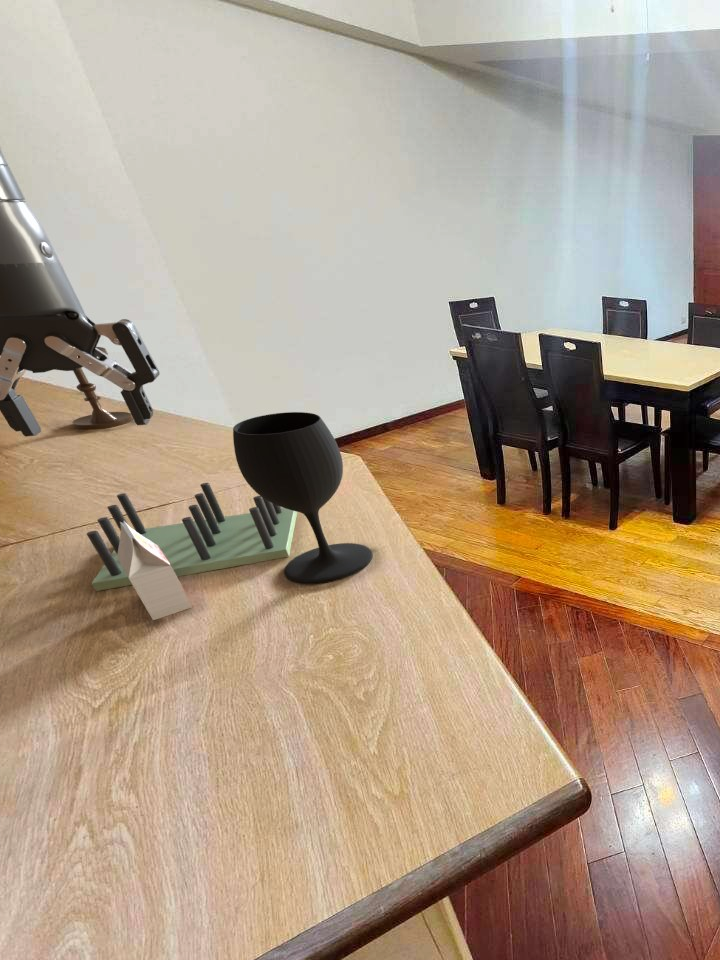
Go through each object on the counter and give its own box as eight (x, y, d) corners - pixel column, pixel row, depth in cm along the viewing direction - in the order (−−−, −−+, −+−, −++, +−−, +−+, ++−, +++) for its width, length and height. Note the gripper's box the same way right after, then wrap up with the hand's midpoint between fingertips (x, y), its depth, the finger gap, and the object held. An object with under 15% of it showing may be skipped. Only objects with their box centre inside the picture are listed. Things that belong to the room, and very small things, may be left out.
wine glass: (363, 579, 78) (314, 434, 68) (272, 589, 75) (206, 439, 65) (380, 541, 86) (339, 408, 76) (299, 549, 84) (244, 412, 74)
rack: (96, 591, 73) (65, 541, 70) (130, 538, 84) (105, 492, 81) (289, 556, 82) (270, 510, 78) (297, 512, 93) (281, 470, 90)
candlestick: (77, 434, 118) (-31, 237, 100) (61, 423, 123) (-46, 233, 105) (147, 421, 126) (58, 236, 108) (128, 411, 131) (40, 233, 113)
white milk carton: (153, 620, 69) (110, 546, 64) (140, 597, 73) (99, 526, 67) (192, 607, 71) (154, 535, 66) (179, 585, 75) (141, 516, 70)
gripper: (114, 254, 60) (184, 411, 68) (-98, 253, 53) (8, 426, 61) (92, 260, 54) (171, 430, 62) (-147, 260, 48) (-24, 450, 56)
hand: (90, 428), depth 62 cm, fingers open, 8 cm apart
